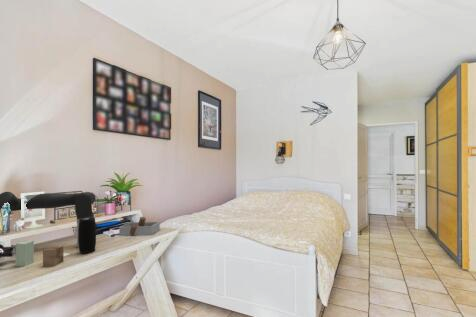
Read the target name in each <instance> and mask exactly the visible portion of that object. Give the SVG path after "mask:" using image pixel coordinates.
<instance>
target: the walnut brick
mask: <svg viewBox="0 0 476 317" xmlns="http://www.w3.org/2000/svg"><path fill="white" fill-rule="evenodd" d="M63 253H64V245H57V246H56V245H52V246H49V247H46V248H45V249H42V258H43V259H42V267H56V266H58V265H59V264H61V263H64V257H63Z"/></svg>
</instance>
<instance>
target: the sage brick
mask: <svg viewBox="0 0 476 317" xmlns="http://www.w3.org/2000/svg"><path fill="white" fill-rule="evenodd" d="M34 242H35V241H34V240H24V241H21V242H18V243H15V245H16V252H15V267H26V265H27V266H28V265H31V264H33V263H34V260H35V259H34V258H35V257H34V255H35V250H34V249H35V246H34V245H35V243H34Z"/></svg>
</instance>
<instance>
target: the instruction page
mask: <svg viewBox="0 0 476 317" xmlns="http://www.w3.org/2000/svg"><path fill="white" fill-rule="evenodd" d="M71 254H72V253H71V252H63V258H66V257H67V256H69V255H71ZM40 260H43V257H41V258H40Z"/></svg>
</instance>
